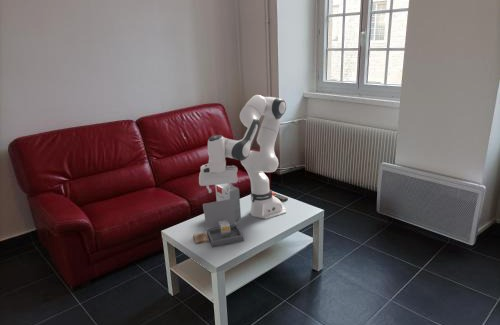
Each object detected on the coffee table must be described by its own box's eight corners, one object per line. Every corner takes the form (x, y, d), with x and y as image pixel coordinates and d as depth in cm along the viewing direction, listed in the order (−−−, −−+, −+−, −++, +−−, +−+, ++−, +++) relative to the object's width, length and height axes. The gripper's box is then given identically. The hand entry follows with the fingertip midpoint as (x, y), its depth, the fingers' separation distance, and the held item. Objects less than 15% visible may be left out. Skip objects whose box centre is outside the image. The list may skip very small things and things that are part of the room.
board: (206, 233, 203) (205, 232, 202) (209, 241, 195) (209, 239, 194) (193, 236, 201) (193, 234, 201) (196, 244, 193) (196, 242, 192)
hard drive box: (217, 214, 226) (214, 184, 220) (227, 210, 231) (224, 181, 225) (231, 222, 214) (228, 191, 208) (241, 218, 219) (239, 187, 213)
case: (236, 229, 206) (236, 224, 205) (243, 240, 193) (243, 235, 192) (207, 235, 202) (207, 230, 201) (212, 247, 189) (212, 242, 188)
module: (228, 232, 201) (227, 219, 198) (231, 238, 195) (229, 224, 192) (219, 234, 199) (218, 221, 197) (221, 239, 194) (220, 226, 191)
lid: (236, 223, 205) (235, 223, 206) (232, 198, 206) (232, 198, 207) (206, 229, 201) (206, 228, 202) (202, 203, 202) (202, 203, 203)
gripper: (236, 163, 192) (237, 187, 196) (197, 166, 189) (199, 191, 193) (238, 166, 186) (239, 191, 190) (198, 170, 183) (200, 195, 187)
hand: (219, 191), depth 192 cm, fingers open, 8 cm apart
